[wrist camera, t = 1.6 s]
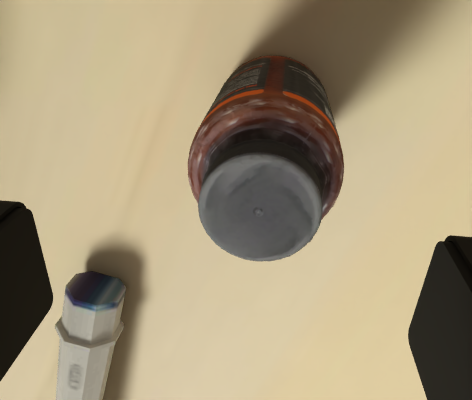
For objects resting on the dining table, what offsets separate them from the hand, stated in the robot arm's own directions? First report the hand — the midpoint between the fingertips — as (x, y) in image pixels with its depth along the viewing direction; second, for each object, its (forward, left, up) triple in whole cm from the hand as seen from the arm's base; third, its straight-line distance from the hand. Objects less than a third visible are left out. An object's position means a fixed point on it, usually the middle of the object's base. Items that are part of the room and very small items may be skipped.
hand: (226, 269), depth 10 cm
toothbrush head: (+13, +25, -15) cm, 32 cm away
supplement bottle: (0, 0, -15) cm, 15 cm away
